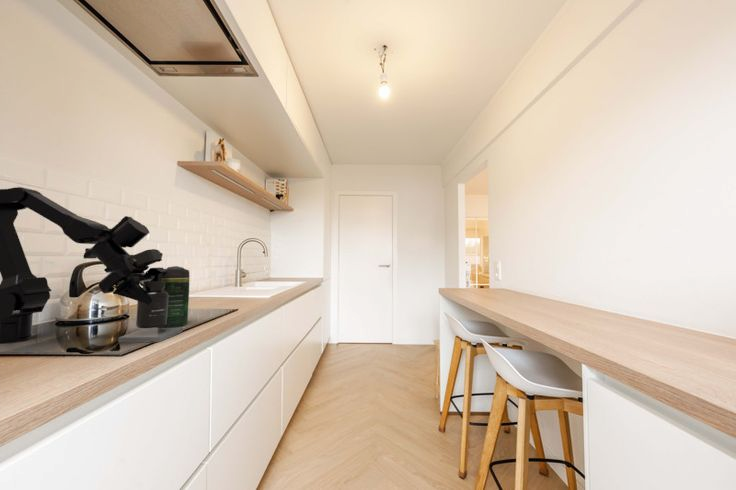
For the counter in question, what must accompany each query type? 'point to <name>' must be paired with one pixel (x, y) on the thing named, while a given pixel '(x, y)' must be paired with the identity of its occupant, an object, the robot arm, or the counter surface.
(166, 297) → the supplement bottle
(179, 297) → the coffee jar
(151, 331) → the coaster
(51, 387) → the counter surface
